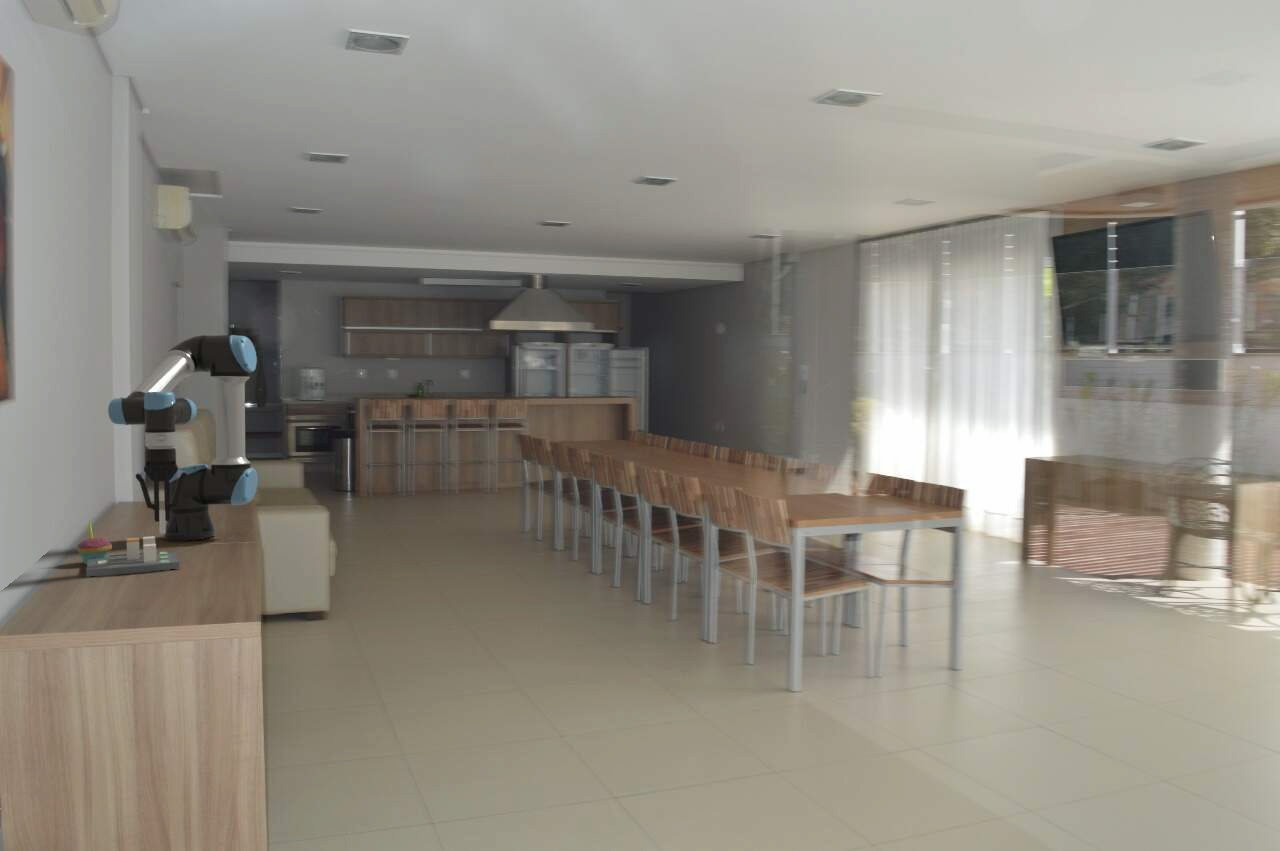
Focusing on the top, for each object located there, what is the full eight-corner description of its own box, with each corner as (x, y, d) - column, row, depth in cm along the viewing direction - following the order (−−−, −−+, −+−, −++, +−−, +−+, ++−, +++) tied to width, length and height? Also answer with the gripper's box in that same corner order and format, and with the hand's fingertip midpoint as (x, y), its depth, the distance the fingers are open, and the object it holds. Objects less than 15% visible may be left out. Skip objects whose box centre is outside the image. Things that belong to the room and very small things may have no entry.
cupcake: (70, 564, 273) (69, 521, 272) (99, 559, 280) (98, 517, 279) (90, 567, 269) (88, 524, 268) (119, 562, 276) (117, 519, 275)
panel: (89, 565, 271) (88, 540, 271) (176, 558, 281) (176, 534, 281) (86, 578, 255) (85, 551, 255) (179, 569, 265) (178, 544, 265)
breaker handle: (127, 558, 269) (126, 538, 269) (139, 557, 270) (139, 537, 270) (127, 560, 266) (126, 540, 266) (139, 559, 268) (139, 539, 267)
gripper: (133, 449, 263) (136, 536, 265) (187, 447, 269) (189, 533, 271) (133, 447, 270) (136, 532, 271) (186, 446, 276) (187, 529, 277)
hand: (162, 533), depth 271 cm, fingers closed
